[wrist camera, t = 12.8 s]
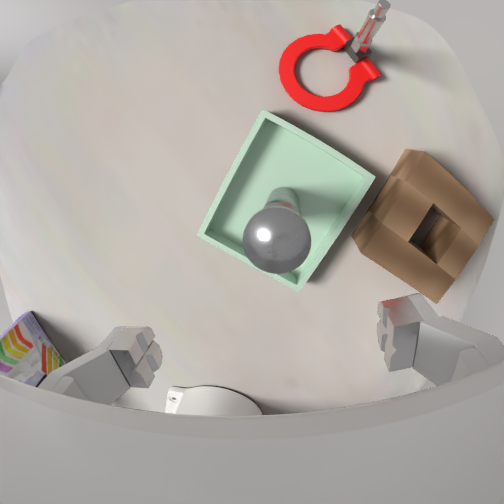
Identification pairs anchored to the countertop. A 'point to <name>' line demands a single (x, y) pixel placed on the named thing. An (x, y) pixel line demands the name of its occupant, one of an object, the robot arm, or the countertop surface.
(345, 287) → the countertop surface
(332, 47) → the tow hook
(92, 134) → the countertop surface
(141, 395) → the countertop surface
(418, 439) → the robot arm
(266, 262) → the pin
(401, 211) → the block
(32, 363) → the cake pan box
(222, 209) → the tray
